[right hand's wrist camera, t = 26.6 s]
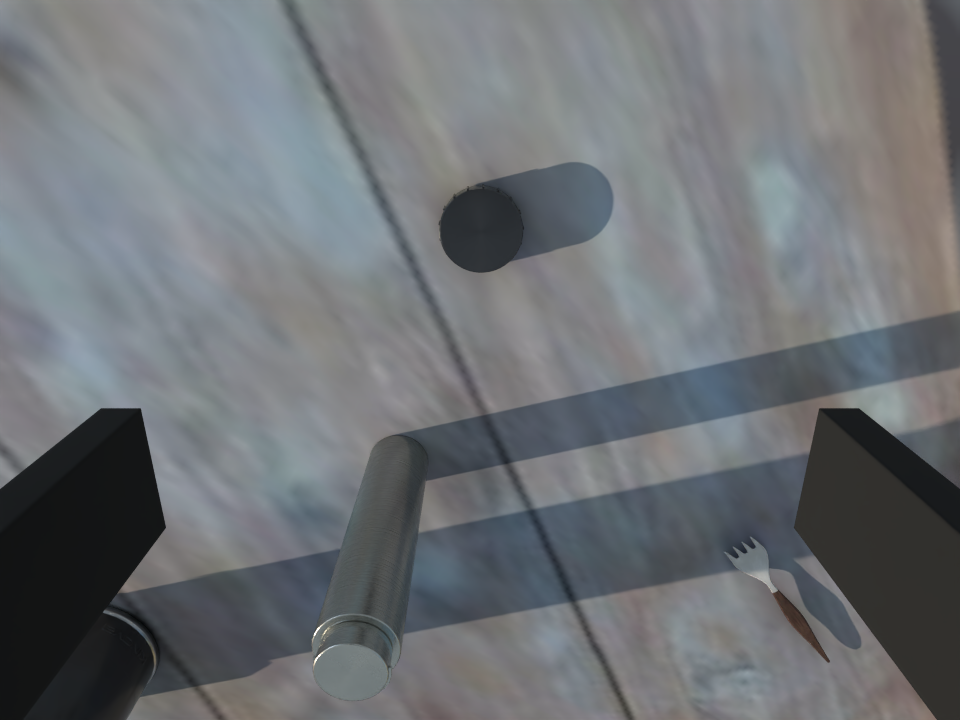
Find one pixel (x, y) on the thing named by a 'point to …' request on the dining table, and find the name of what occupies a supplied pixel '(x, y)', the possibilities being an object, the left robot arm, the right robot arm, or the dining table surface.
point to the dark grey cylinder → (372, 575)
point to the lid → (481, 229)
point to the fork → (773, 589)
